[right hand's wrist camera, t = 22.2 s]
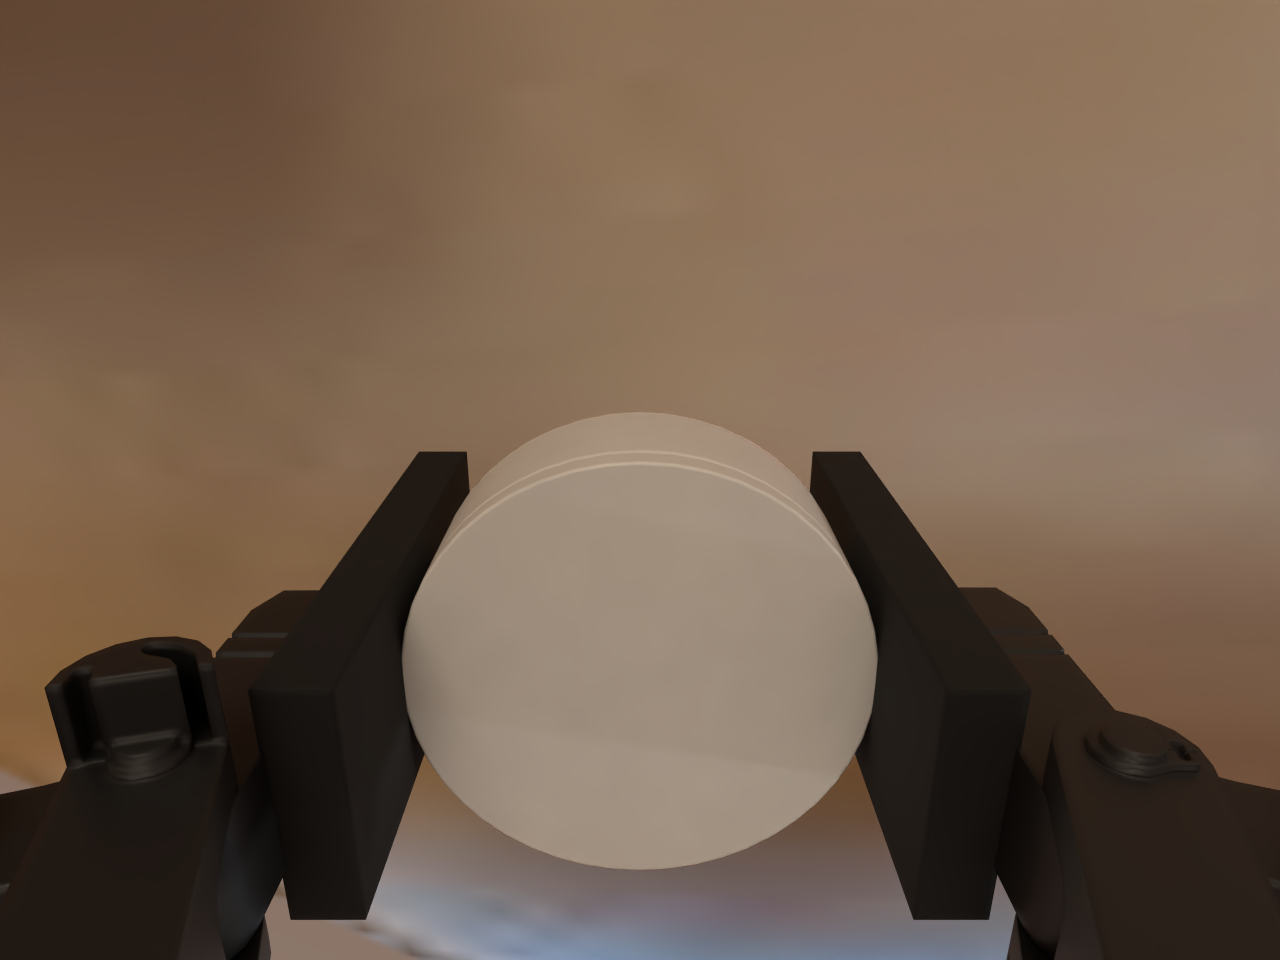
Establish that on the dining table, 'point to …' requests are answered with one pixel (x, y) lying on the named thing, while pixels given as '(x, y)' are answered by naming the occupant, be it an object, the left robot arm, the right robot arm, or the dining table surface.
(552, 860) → the dining table surface
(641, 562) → the white cylinder with groove
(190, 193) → the dining table surface
